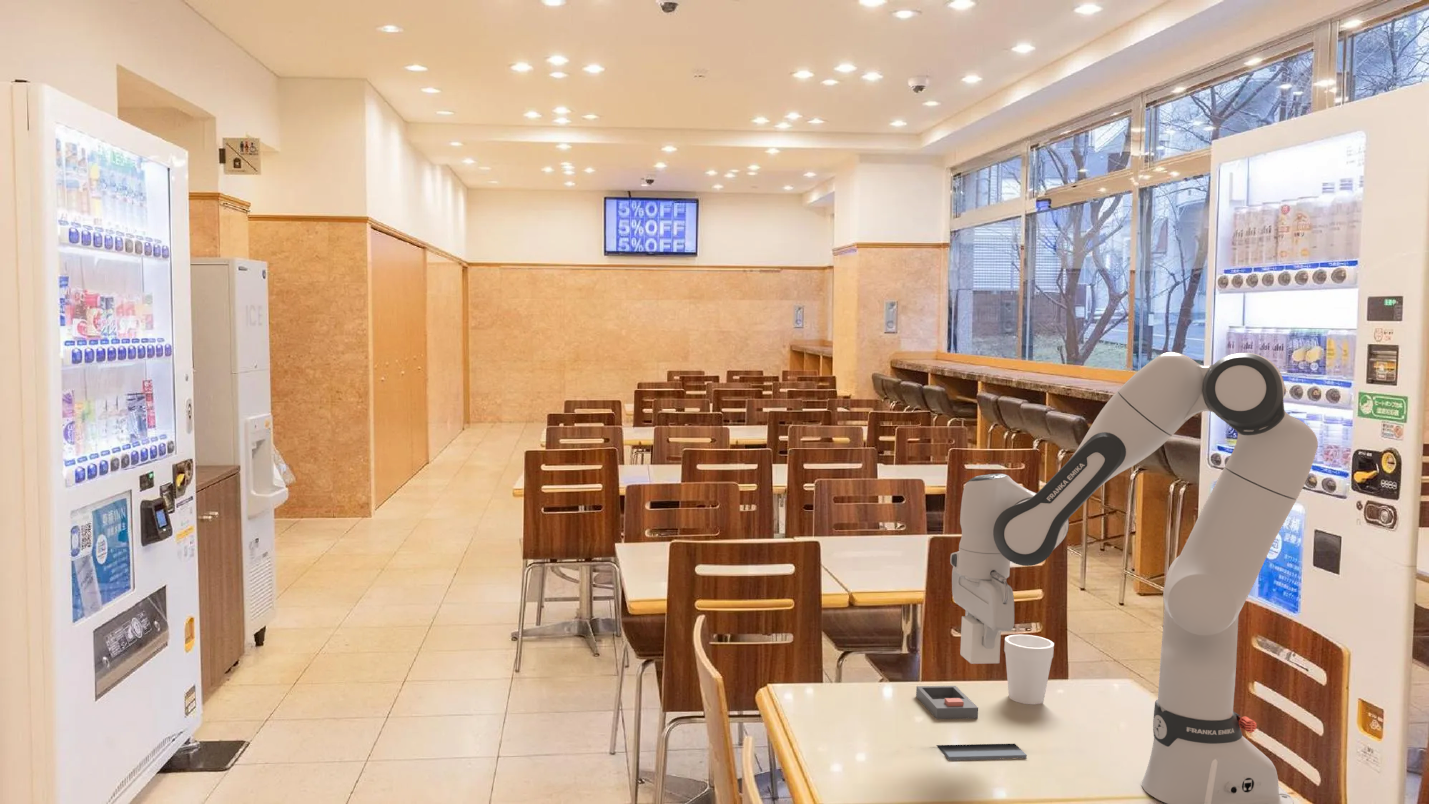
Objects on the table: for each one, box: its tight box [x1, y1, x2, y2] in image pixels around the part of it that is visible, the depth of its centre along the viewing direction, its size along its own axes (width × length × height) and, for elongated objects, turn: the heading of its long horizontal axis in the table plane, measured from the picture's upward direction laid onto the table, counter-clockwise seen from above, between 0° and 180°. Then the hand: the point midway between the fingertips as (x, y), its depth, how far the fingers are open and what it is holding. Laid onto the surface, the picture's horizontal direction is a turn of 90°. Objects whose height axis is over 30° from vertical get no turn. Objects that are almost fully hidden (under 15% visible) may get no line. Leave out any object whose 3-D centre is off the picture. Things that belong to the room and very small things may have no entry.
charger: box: [959, 615, 1002, 665], centre depth 184 cm, size 5×5×7 cm
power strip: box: [915, 685, 979, 720], centre depth 200 cm, size 8×12×4 cm, turn 7°
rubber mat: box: [935, 743, 1028, 761], centre depth 185 cm, size 14×12×1 cm
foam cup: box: [1003, 634, 1055, 705], centre depth 206 cm, size 10×9×13 cm
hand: (980, 641), depth 184 cm, fingers closed on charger, 5 cm apart
